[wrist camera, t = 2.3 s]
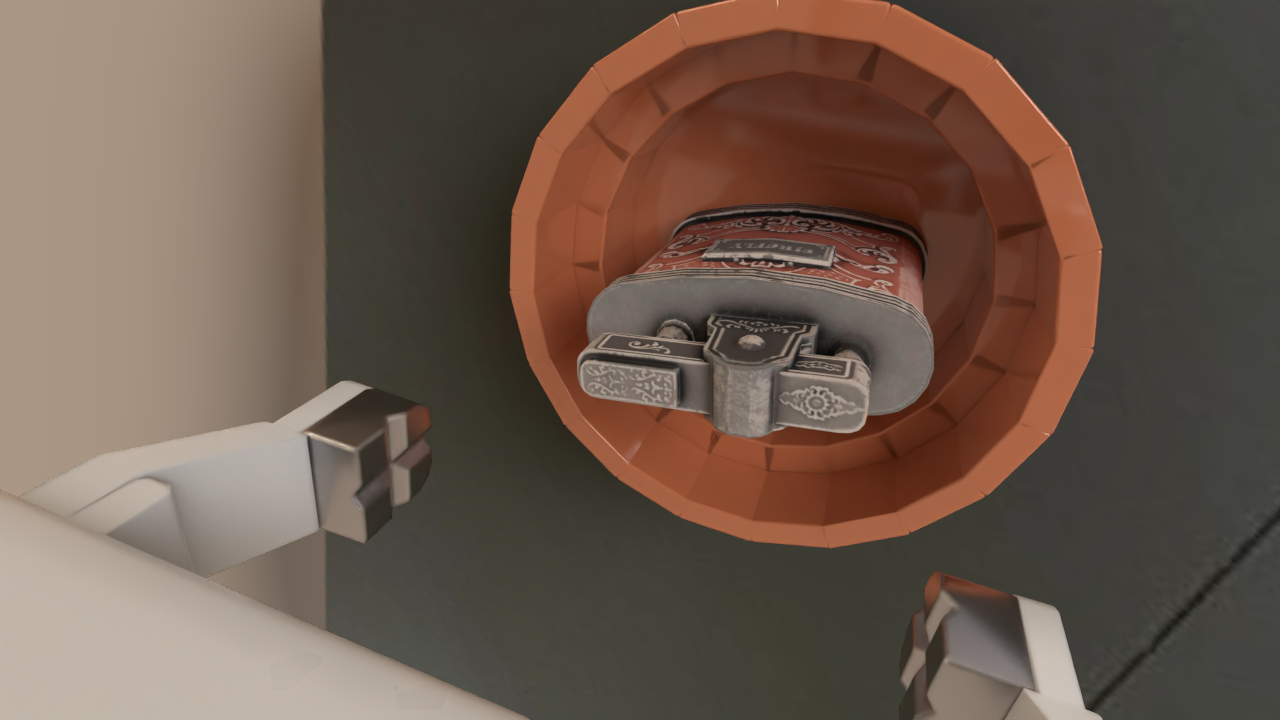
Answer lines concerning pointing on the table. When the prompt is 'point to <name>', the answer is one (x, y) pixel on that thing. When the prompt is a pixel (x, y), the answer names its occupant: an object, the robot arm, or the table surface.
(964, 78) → the bowl
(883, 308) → the lighter
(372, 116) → the table surface
